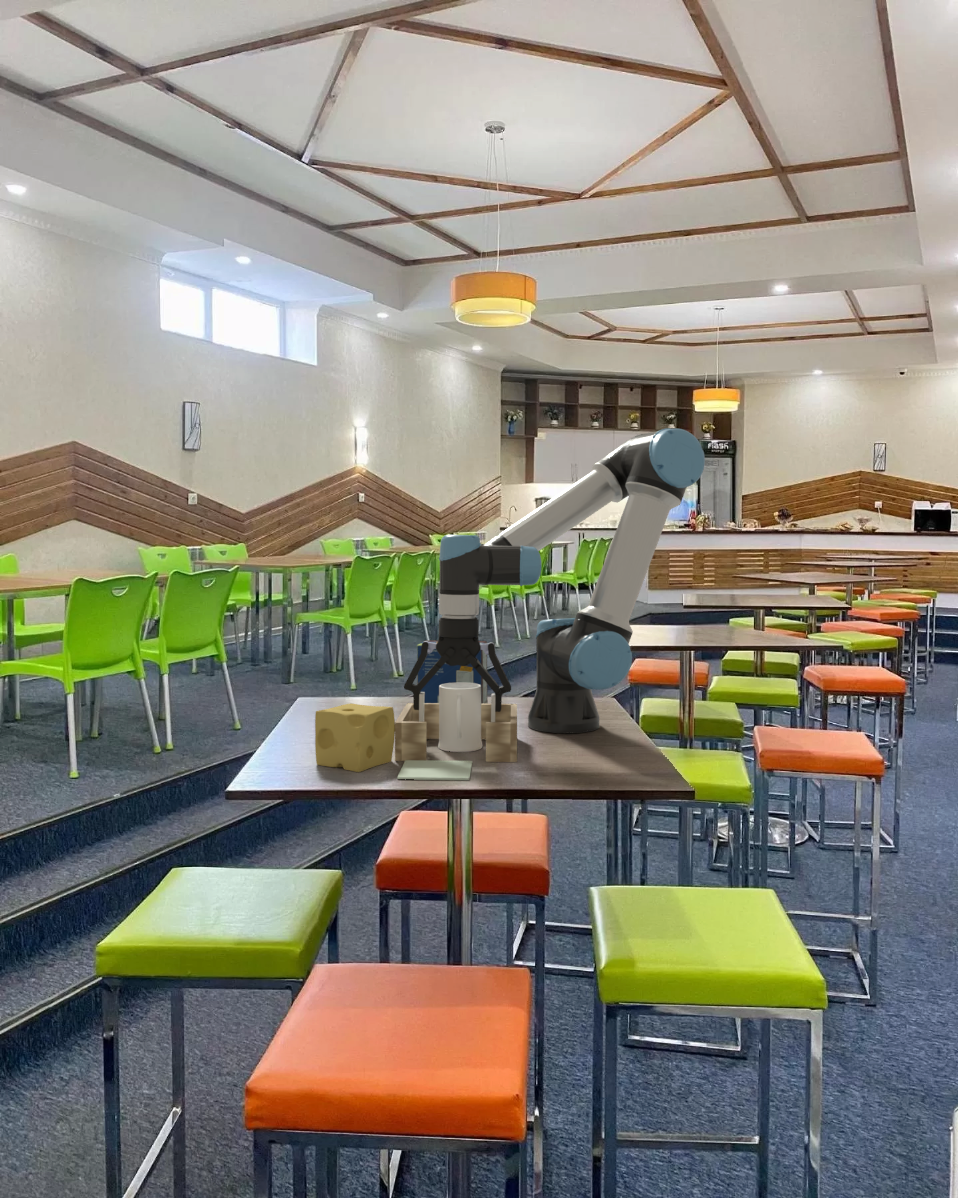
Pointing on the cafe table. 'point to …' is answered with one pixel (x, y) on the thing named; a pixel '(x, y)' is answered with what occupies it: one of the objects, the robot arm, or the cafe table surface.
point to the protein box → (450, 674)
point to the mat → (435, 770)
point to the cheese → (354, 736)
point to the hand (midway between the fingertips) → (457, 728)
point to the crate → (416, 733)
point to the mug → (460, 717)
